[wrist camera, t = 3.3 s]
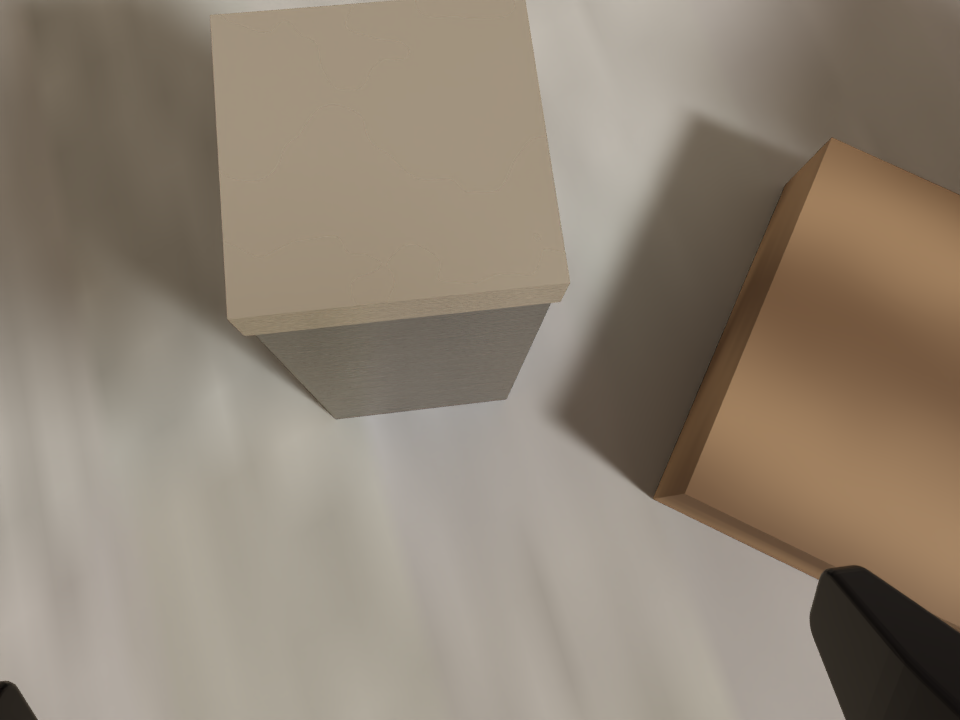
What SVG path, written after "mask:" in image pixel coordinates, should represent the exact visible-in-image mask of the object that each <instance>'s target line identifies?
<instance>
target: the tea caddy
mask: <svg viewBox="0 0 960 720" xmlns="http://www.w3.org/2000/svg"><path fill="white" fill-rule="evenodd" d="M210 23H211V41H212V58H213V76H214V94H215V112H216V129H217V147H218V165H219V182H220V200H221V218H222V235H223V253H224V271H225V289H226V306H227V320H228V321H229V322H230V323H231V324H232V325H234V326H235V327H236V328H237V329H238V330H239V331H240V332H241V333H242V334H243V335H244V336H251V335H256V336H257V337H258V338H259V339H260V340H261V341H262V342H263V343H264V344H265V346H266V347H267V348H268V349H269V350H270V351H271V352H272V353H273V354H274V355H275V356H276V357H277V358H278V359H279V360H280V361H281V362H282V363H283V364H284V365H285V366H286V368H287V369H288V370H289V371H290V372H291V373H292V374H293V375H294V376H295V377H296V378H297V379H298V380H299V381H300V382H301V383H302V384H303V385H304V386H305V387H306V388H307V389H308V391H309V392H310V393H311V394H312V395H313V396H314V397H315V398H316V399H317V400H318V401H319V402H320V403H321V404H322V405H323V406H324V407H325V408H326V409H327V410H328V411H329V413H330V414H331V415H332V416H333V417H334V418H335V419H343V418H351V417H360V416H368V415H377V414H385V413H394V412H403V411H411V410H420V409H428V408H437V407H445V406H454V405H462V404H471V403H479V402H488V401H496V400H505V399H507V397H508V395H509V393H510V391H511V388H512V386H513V384H514V382H515V380H516V378H517V375H518V373H519V371H520V369H521V367H522V365H523V362H524V360H525V358H526V356H527V354H528V352H529V349H530V347H531V345H532V343H533V341H534V339H535V336H536V334H537V332H538V330H539V328H540V326H541V323H542V321H543V319H544V317H545V315H546V313H547V310H548V308H549V306H550V304H551V303H555V302H561V300H562V298H563V296H564V294H565V292H566V290H567V288H568V286H569V284H570V279H569V272H568V266H567V260H566V253H565V247H564V241H563V235H562V228H561V222H560V216H559V209H558V203H557V197H556V191H555V184H554V178H553V172H552V165H551V159H550V153H549V146H548V140H547V134H546V128H545V121H544V115H543V109H542V102H541V96H540V90H539V84H538V77H537V71H536V65H535V58H534V52H533V46H532V39H531V33H530V27H529V21H528V14H527V8H526V2H525V0H396V1H383V2H370V3H358V4H345V5H332V6H320V7H307V8H294V9H281V10H269V11H256V12H243V13H231V14H218V15H210Z"/></svg>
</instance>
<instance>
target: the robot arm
mask: <svg viewBox="0 0 960 720" xmlns="http://www.w3.org/2000/svg"><path fill="white" fill-rule="evenodd" d="M810 628H811V632H812V635H813V638H814V641H815V643H816V646H817V648H818V651H819V653H820V656H821V658H822V661H823V663H824V666H825V668H826V671H827V674H828V676H829V679H830V681H831V684H832V686H833V689H834V691H835V694H836V696H837V699H838V701H839V704H840V707H841V709H842V712H843V714H844V717H845V719H846V720H960V632H959V631H957V630H956V629H954V628H953V627H951V626H950V625H948V624H947V623H945V622H944V621H942V620H941V619H939V618H938V617H937V616H935V615H934V614H932V613H931V612H929V611H928V610H926V609H925V608H923V607H922V606H920V605H919V604H918V603H916V602H915V601H913V600H912V599H910V598H909V597H907V596H906V595H904V594H903V593H901V592H900V591H898V590H897V589H896V588H894V587H893V586H891V585H890V584H888V583H887V582H885V581H884V580H882V579H881V578H879V577H878V576H877V575H875V574H874V573H872V572H871V571H869V570H868V569H866V568H864V567H861V566H858V565H848V566H841V567H833V568H828V569H825V570H824V571H823V572H822V573H821V575H820V578H819V582H818V586H817V589H816V593H815V597H814V600H813V604H812V608H811V612H810ZM0 720H38V719H37V718H36V716H35V714H34V713H33V711H32V710H31V708H30V707H29V705H28V703H27V702H26V700H25V699H24V697H23V695H22V694H21V692H20V691H19V689H18V687H17V686H16V685H15V684H13V683H11V682H9V681H0Z"/></svg>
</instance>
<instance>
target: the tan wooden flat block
mask: <svg viewBox="0 0 960 720" xmlns="http://www.w3.org/2000/svg"><path fill="white" fill-rule="evenodd" d="M653 499H654V500H656V501H658V502H660V503H662V504H664V505H666V506H668V507H670V508H673V509H675V510H677V511H679V512H681V513H683V514H685V515H687V516H689V517H691V518H693V519H695V520H697V521H699V522H701V523H703V524H705V525H707V526H710V527H712V528H714V529H716V530H718V531H720V532H722V533H724V534H726V535H728V536H730V537H732V538H734V539H736V540H738V541H740V542H742V543H744V544H747V545H749V546H751V547H753V548H755V549H757V550H759V551H761V552H763V553H765V554H767V555H769V556H771V557H773V558H775V559H777V560H779V561H781V562H783V563H786V564H788V565H790V566H792V567H794V568H796V569H798V570H800V571H802V572H804V573H806V574H808V575H810V576H812V577H814V578H816V579H818V580H819V578H820V575H821V573H822V572H823V571H824V570H825V569H828V568H833V567H841V566H848V565H858V566H861V567H864V568H866V569H868V570H869V571H871V572H872V573H874V574H875V575H877V576H878V577H879V578H881V579H882V580H884V581H885V582H887V583H888V584H890V585H891V586H893V587H894V588H896V589H897V590H898V591H900V592H901V593H903V594H904V595H906V596H907V597H909V598H910V599H912V600H913V601H915V602H916V603H918V604H919V605H920V606H922V607H923V608H925V609H926V610H928V611H929V612H931V613H932V614H934V615H935V616H937V617H938V618H939V619H941V620H942V621H944V622H945V623H947V624H948V625H950V626H951V627H953V628H954V629H956V630H957V631H959V632H960V195H959V194H956V193H954V192H952V191H950V190H948V189H945V188H943V187H941V186H939V185H936V184H934V183H932V182H930V181H928V180H925V179H923V178H921V177H919V176H917V175H914V174H912V173H910V172H908V171H905V170H903V169H901V168H899V167H897V166H894V165H892V164H890V163H888V162H885V161H883V160H881V159H879V158H877V157H874V156H872V155H870V154H868V153H865V152H863V151H861V150H859V149H857V148H854V147H852V146H850V145H848V144H846V143H843V142H841V141H839V140H837V139H834V138H831V139H830V140H829V141H828V142H827V143H826V144H825V145H824V146H823V147H822V148H821V149H820V150H819V151H818V152H817V153H816V154H815V155H814V156H813V157H812V158H811V159H810V160H809V161H808V162H807V163H806V164H805V165H804V166H803V167H802V168H801V169H800V170H799V171H798V172H797V173H796V174H795V175H794V176H793V177H792V178H791V180H790V181H789V182H788V183H787V184H786V185H785V187H784V189H783V192H782V194H781V196H780V199H779V201H778V203H777V206H776V208H775V211H774V213H773V215H772V218H771V220H770V222H769V225H768V227H767V229H766V232H765V234H764V237H763V239H762V241H761V244H760V246H759V248H758V251H757V253H756V256H755V258H754V260H753V263H752V265H751V267H750V270H749V272H748V275H747V277H746V279H745V282H744V284H743V286H742V289H741V291H740V293H739V296H738V298H737V301H736V303H735V305H734V308H733V310H732V312H731V315H730V317H729V320H728V322H727V324H726V327H725V329H724V331H723V334H722V336H721V339H720V341H719V343H718V346H717V348H716V350H715V353H714V355H713V357H712V360H711V362H710V365H709V367H708V369H707V372H706V374H705V376H704V379H703V381H702V384H701V386H700V388H699V391H698V393H697V395H696V398H695V400H694V403H693V405H692V407H691V410H690V412H689V414H688V417H687V419H686V421H685V424H684V426H683V429H682V431H681V433H680V436H679V438H678V440H677V443H676V445H675V448H674V450H673V452H672V455H671V457H670V459H669V462H668V464H667V467H666V469H665V471H664V474H663V476H662V478H661V481H660V483H659V485H658V488H657V490H656V493H655V495H654V497H653Z"/></svg>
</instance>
